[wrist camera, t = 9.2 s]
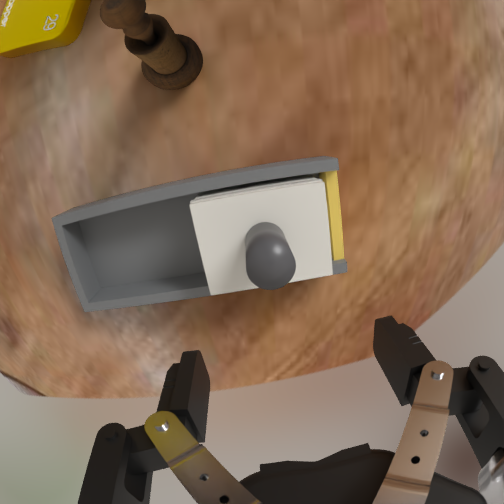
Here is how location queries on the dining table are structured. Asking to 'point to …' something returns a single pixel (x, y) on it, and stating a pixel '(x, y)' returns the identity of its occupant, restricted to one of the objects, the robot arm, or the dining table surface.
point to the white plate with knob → (263, 233)
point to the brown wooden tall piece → (154, 43)
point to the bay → (165, 236)
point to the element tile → (40, 25)
